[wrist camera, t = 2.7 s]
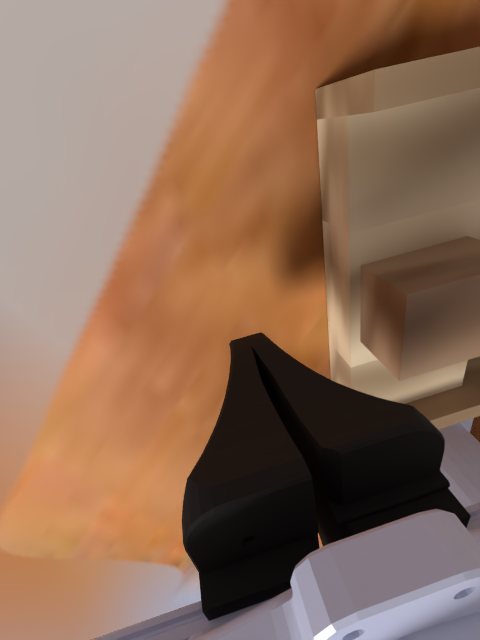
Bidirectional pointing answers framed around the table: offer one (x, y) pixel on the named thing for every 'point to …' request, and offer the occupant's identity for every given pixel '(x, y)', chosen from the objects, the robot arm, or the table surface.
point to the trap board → (398, 206)
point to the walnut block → (423, 308)
